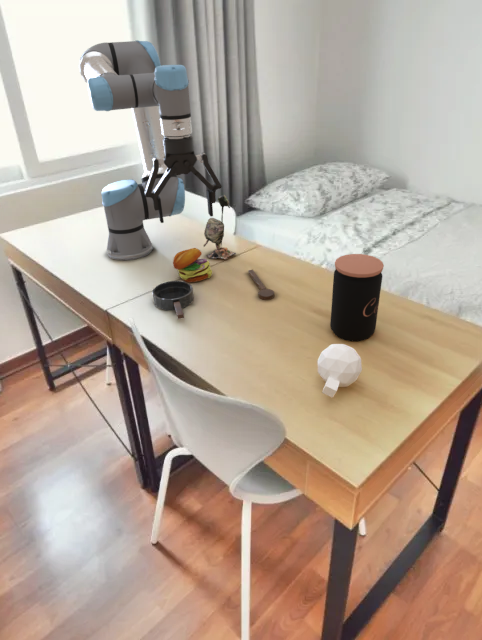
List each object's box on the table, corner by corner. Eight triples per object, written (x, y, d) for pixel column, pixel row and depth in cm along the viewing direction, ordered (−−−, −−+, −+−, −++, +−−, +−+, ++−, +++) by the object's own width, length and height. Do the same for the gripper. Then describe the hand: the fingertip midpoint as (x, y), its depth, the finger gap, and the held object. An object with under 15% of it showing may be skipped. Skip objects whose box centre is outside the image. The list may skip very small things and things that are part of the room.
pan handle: (174, 311, 124) (173, 301, 122) (180, 310, 124) (179, 300, 122) (178, 325, 118) (177, 315, 116) (185, 324, 118) (183, 314, 116)
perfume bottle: (318, 355, 101) (302, 394, 93) (332, 327, 95) (316, 366, 86) (355, 372, 100) (342, 413, 91) (372, 345, 93) (359, 387, 85)
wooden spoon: (243, 274, 141) (243, 271, 140) (257, 272, 142) (257, 268, 141) (261, 301, 126) (261, 297, 126) (276, 298, 127) (276, 294, 127)
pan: (152, 295, 132) (150, 284, 130) (189, 289, 134) (188, 278, 132) (156, 314, 123) (154, 302, 121) (197, 307, 125) (196, 295, 123)
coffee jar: (365, 348, 106) (374, 278, 96) (322, 335, 111) (327, 267, 101) (380, 326, 113) (390, 258, 104) (339, 315, 118) (345, 250, 109)
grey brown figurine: (216, 247, 160) (211, 189, 149) (239, 255, 153) (236, 195, 142) (198, 254, 155) (192, 195, 144) (221, 263, 148) (216, 202, 137)
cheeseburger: (208, 284, 135) (197, 254, 131) (176, 290, 139) (164, 261, 134) (217, 269, 144) (206, 240, 139) (186, 275, 147) (175, 246, 142)
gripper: (127, 143, 109) (141, 228, 121) (229, 133, 114) (234, 216, 126) (125, 137, 115) (139, 219, 127) (222, 128, 121) (227, 208, 132)
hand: (186, 218), depth 126 cm, fingers open, 13 cm apart
